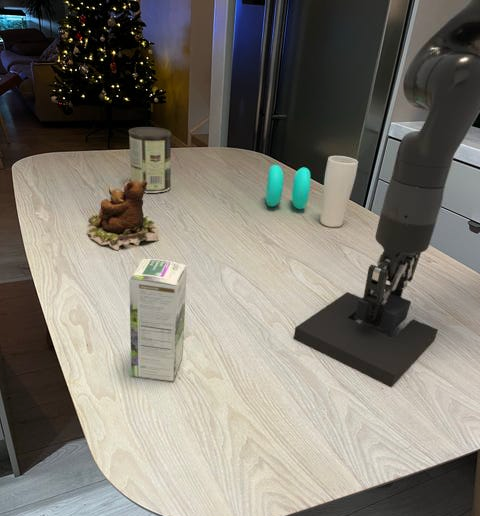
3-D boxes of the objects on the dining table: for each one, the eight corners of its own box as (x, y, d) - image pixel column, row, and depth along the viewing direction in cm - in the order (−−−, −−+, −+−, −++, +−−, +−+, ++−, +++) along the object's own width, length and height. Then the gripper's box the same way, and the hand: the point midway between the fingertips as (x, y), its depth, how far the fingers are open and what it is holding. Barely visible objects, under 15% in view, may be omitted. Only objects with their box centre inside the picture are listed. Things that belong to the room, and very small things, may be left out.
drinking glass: (339, 231, 113) (352, 165, 105) (312, 224, 116) (323, 159, 108) (349, 223, 119) (362, 159, 111) (322, 216, 121) (334, 153, 113)
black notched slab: (345, 301, 86) (347, 291, 85) (434, 340, 78) (438, 329, 76) (293, 338, 75) (295, 327, 74) (391, 387, 67) (395, 375, 66)
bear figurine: (136, 217, 111) (134, 161, 104) (169, 241, 101) (169, 182, 95) (76, 226, 104) (70, 167, 97) (105, 253, 94) (101, 190, 87)
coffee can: (153, 179, 135) (152, 125, 128) (179, 189, 130) (179, 133, 122) (122, 185, 128) (119, 128, 121) (148, 196, 123) (147, 137, 115)
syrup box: (142, 351, 69) (140, 256, 61) (184, 357, 69) (187, 262, 61) (130, 377, 64) (126, 277, 56) (175, 383, 64) (177, 283, 56)
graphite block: (371, 304, 82) (376, 287, 80) (406, 318, 78) (411, 301, 77) (354, 317, 77) (358, 300, 76) (389, 333, 74) (395, 315, 73)
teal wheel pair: (306, 215, 121) (312, 174, 116) (265, 211, 121) (270, 170, 115) (303, 201, 129) (309, 163, 124) (265, 198, 129) (269, 159, 124)
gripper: (414, 233, 62) (383, 343, 71) (453, 208, 72) (421, 308, 81) (361, 216, 66) (337, 323, 75) (405, 195, 75) (379, 291, 84)
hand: (381, 314), depth 78 cm, fingers closed on graphite block, 6 cm apart
